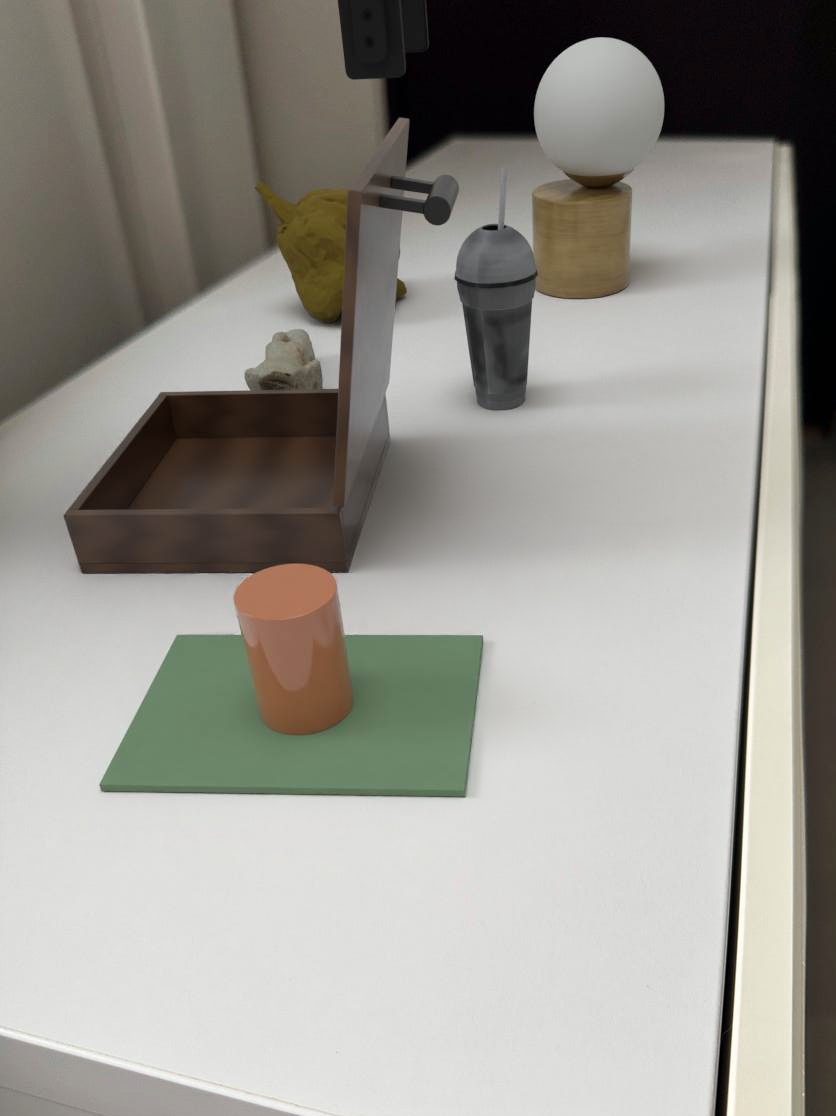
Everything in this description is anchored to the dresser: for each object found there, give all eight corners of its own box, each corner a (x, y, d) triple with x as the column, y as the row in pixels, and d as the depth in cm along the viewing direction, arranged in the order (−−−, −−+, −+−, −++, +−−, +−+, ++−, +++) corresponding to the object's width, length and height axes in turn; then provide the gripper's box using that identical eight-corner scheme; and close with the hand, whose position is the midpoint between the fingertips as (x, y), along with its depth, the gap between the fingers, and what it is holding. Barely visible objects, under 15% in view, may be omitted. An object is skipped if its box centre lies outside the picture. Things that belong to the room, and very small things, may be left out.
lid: (347, 189, 59) (442, 203, 59) (398, 117, 77) (472, 128, 77) (332, 506, 71) (411, 517, 71) (379, 381, 89) (443, 391, 89)
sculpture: (256, 370, 109) (244, 419, 96) (250, 324, 106) (238, 367, 93) (326, 368, 109) (323, 415, 97) (322, 321, 107) (319, 364, 94)
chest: (81, 573, 76) (62, 515, 73) (172, 442, 94) (160, 391, 91) (347, 572, 74) (339, 512, 72) (390, 439, 92) (385, 387, 89)
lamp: (595, 253, 133) (599, 26, 119) (681, 276, 124) (696, 33, 110) (505, 282, 126) (497, 43, 111) (589, 308, 117) (592, 52, 102)
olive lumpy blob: (265, 313, 120) (244, 184, 112) (350, 279, 129) (336, 156, 121) (353, 337, 114) (338, 200, 105) (437, 298, 122) (429, 170, 114)
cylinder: (248, 734, 60) (221, 619, 55) (271, 674, 64) (247, 563, 60) (345, 735, 59) (326, 620, 55) (361, 675, 64) (345, 562, 59)
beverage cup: (448, 395, 99) (432, 168, 87) (516, 378, 102) (509, 155, 90) (484, 422, 94) (472, 184, 82) (554, 404, 96) (552, 170, 85)
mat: (100, 791, 57) (98, 784, 57) (178, 640, 69) (176, 634, 68) (465, 796, 56) (464, 790, 55) (483, 641, 67) (483, 634, 67)
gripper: (316, -309, 58) (354, 47, 68) (228, -365, 44) (292, 92, 54) (452, -320, 57) (469, 41, 67) (406, -381, 43) (437, 86, 53)
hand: (390, 64), depth 60 cm, fingers open, 9 cm apart
